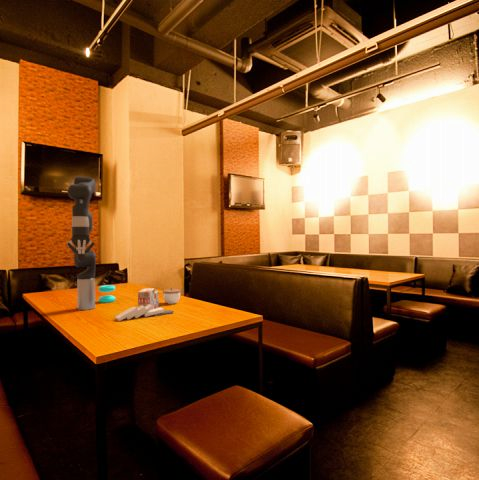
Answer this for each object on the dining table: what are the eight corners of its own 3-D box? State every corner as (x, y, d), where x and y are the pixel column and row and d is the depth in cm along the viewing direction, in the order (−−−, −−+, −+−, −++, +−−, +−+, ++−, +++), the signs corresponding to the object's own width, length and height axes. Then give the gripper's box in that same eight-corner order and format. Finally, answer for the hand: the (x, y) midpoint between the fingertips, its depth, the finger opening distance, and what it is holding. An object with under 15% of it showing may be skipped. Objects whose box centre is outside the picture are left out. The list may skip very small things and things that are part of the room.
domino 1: (115, 316, 163) (133, 306, 169) (116, 319, 164) (134, 308, 169) (117, 318, 159) (136, 307, 165) (119, 321, 160) (138, 310, 165)
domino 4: (142, 311, 172) (161, 307, 177) (142, 314, 172) (161, 310, 177) (144, 313, 167) (163, 309, 172) (145, 316, 168) (164, 312, 173)
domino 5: (152, 312, 175) (170, 310, 180) (152, 315, 175) (170, 313, 180) (154, 314, 170) (173, 311, 175) (154, 317, 170) (173, 314, 175)
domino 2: (123, 315, 166) (141, 304, 171) (124, 317, 166) (142, 307, 172) (126, 317, 162) (144, 306, 167) (127, 319, 162) (146, 309, 168)
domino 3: (131, 313, 169) (148, 303, 174) (132, 316, 169) (150, 306, 174) (134, 315, 165) (152, 305, 170) (136, 318, 165) (153, 308, 170)
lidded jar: (160, 302, 206) (159, 287, 206) (175, 300, 212) (175, 286, 212) (167, 305, 197) (167, 289, 197) (183, 303, 204) (183, 287, 204)
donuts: (118, 284, 215) (110, 287, 205) (118, 300, 215) (110, 303, 205) (103, 284, 217) (95, 287, 207) (104, 300, 217) (95, 302, 207)
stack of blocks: (148, 306, 195) (148, 285, 195) (158, 306, 195) (158, 285, 195) (138, 315, 173) (137, 291, 173) (150, 314, 174) (149, 291, 174)
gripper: (92, 226, 167) (93, 260, 168) (63, 226, 159) (64, 262, 159) (97, 226, 162) (97, 261, 162) (67, 225, 153) (67, 262, 153)
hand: (80, 261), depth 160 cm, fingers closed
